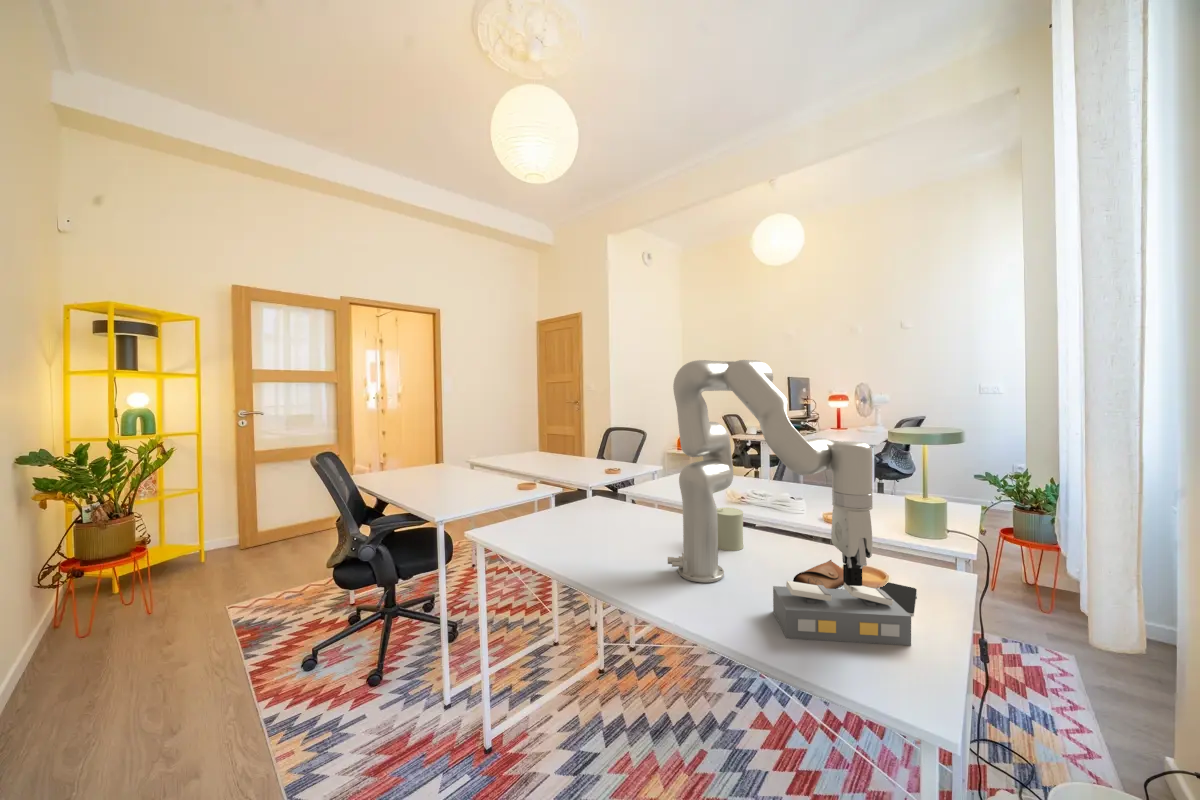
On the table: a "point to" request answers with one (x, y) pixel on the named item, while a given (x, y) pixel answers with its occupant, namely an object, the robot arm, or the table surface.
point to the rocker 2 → (869, 594)
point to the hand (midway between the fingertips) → (852, 584)
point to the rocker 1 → (808, 590)
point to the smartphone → (902, 596)
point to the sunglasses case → (822, 576)
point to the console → (841, 618)
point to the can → (730, 529)
